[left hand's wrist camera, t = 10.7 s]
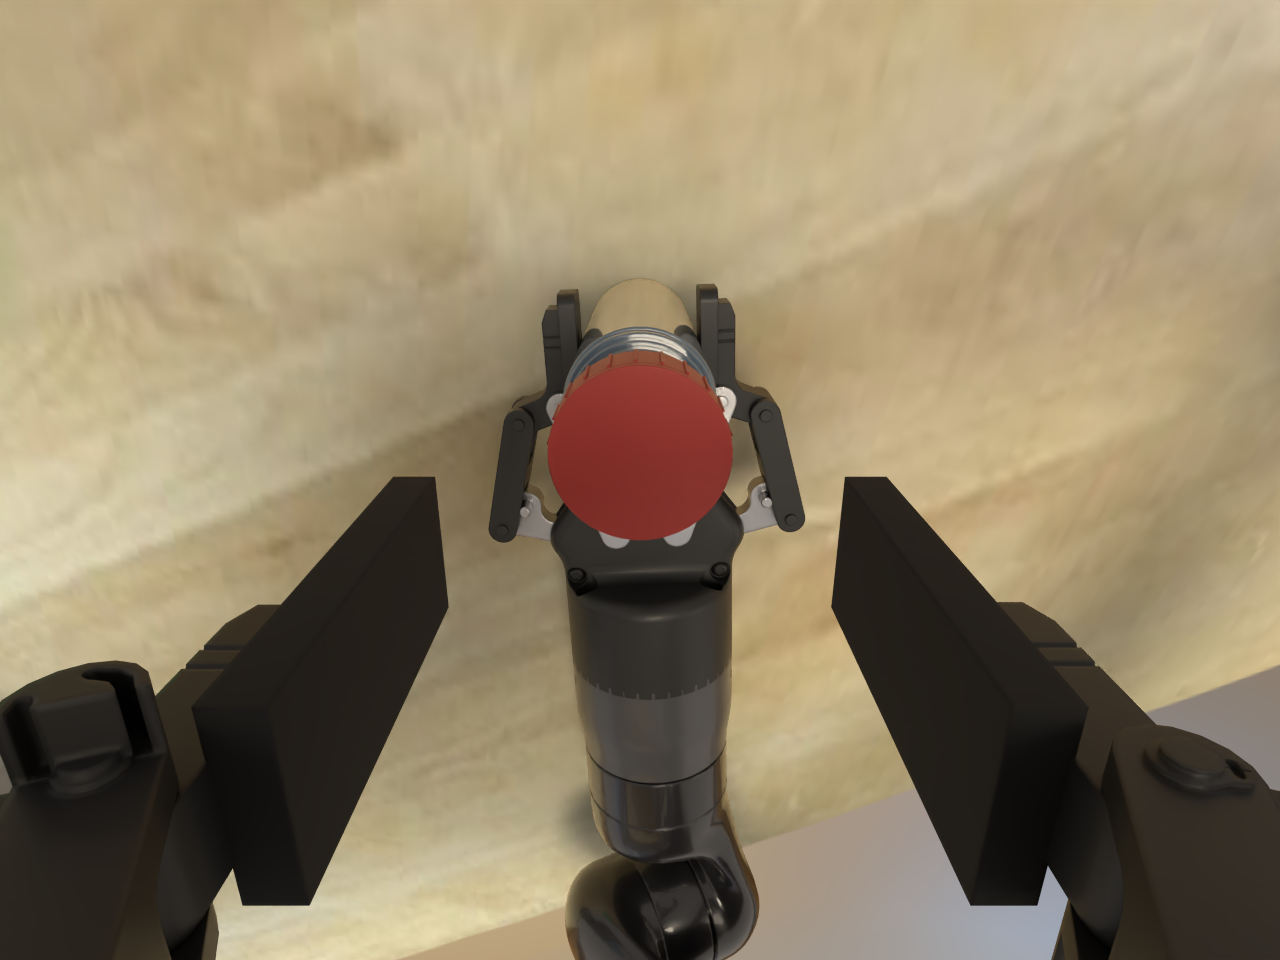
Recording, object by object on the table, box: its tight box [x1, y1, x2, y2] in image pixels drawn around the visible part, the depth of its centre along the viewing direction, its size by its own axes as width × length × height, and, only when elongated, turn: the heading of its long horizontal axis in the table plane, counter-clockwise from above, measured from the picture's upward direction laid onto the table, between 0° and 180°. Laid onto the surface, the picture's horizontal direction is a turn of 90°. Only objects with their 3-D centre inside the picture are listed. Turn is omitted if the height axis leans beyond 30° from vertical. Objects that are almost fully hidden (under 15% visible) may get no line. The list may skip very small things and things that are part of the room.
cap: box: [547, 349, 733, 540], centre depth 19 cm, size 5×5×2 cm
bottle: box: [563, 279, 717, 397], centre depth 28 cm, size 5×5×19 cm
